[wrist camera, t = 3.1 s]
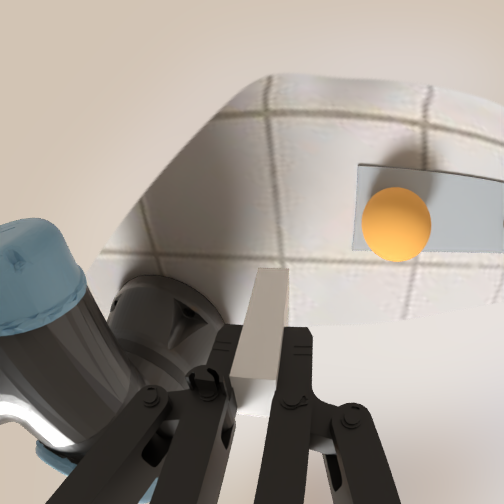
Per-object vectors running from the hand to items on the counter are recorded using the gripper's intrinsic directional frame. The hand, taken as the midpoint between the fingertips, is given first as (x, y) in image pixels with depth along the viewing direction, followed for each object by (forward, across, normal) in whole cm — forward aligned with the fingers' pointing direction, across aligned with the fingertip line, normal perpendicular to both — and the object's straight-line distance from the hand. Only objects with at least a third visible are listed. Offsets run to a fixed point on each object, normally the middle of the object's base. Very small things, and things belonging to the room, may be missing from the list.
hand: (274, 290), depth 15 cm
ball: (+9, +9, 0) cm, 13 cm away
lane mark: (+12, +20, 0) cm, 23 cm away
